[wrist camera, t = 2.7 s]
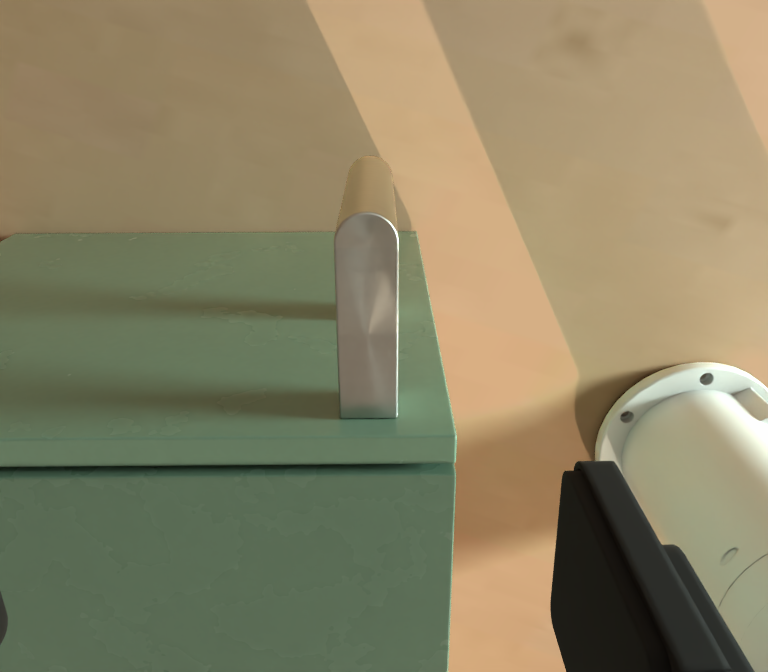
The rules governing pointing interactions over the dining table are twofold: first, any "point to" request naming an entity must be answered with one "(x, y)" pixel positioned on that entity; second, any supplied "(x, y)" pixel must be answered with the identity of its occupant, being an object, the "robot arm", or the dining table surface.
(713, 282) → the dining table surface
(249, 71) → the dining table surface
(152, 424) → the fridge door
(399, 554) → the mini fridge
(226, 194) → the dining table surface
